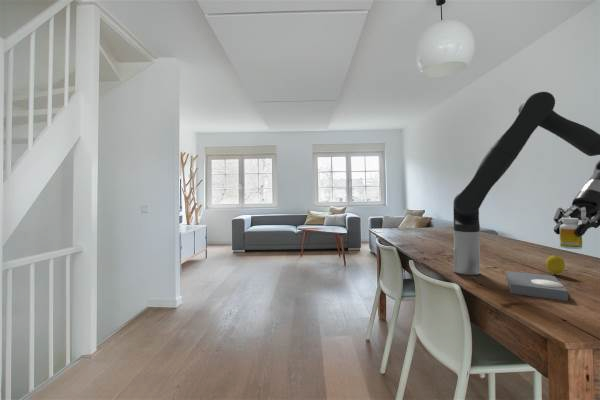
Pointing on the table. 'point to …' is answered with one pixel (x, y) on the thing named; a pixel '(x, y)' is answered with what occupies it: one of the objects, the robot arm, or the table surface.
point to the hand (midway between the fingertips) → (566, 233)
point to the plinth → (536, 285)
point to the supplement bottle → (570, 234)
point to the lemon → (555, 264)
